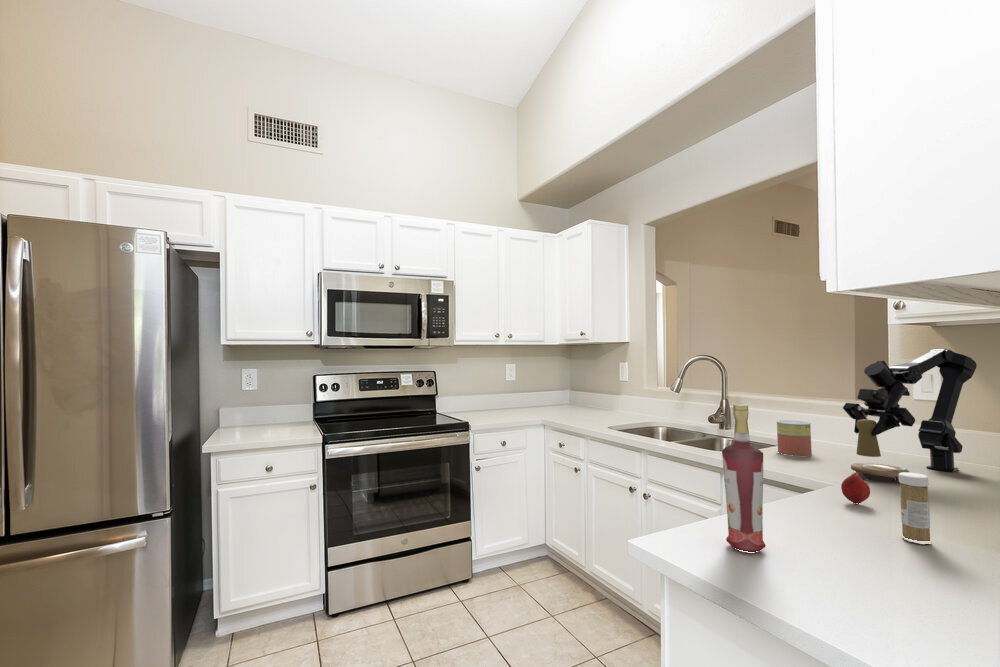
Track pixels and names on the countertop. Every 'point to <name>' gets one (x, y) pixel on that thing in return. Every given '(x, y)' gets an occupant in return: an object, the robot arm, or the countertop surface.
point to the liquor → (743, 487)
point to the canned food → (794, 438)
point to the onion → (855, 488)
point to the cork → (867, 439)
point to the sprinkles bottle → (915, 506)
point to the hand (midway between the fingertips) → (863, 433)
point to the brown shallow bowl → (877, 470)
